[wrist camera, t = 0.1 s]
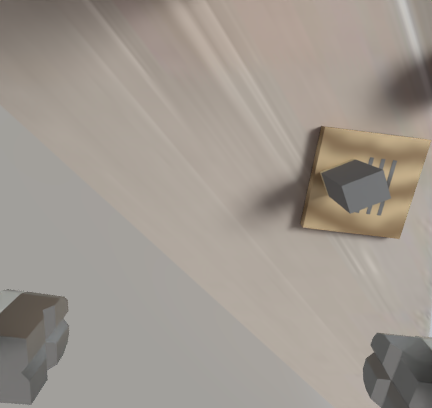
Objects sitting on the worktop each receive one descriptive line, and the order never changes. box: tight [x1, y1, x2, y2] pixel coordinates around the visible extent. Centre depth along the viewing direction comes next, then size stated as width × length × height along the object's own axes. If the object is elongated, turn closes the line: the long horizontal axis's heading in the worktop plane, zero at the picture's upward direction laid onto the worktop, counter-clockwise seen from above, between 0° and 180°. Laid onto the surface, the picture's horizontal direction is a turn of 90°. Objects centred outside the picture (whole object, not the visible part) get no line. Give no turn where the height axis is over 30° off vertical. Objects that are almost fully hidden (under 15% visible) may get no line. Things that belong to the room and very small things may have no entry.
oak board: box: [300, 126, 431, 239], centre depth 55 cm, size 18×18×2 cm
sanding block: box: [320, 159, 391, 214], centre depth 49 cm, size 6×4×10 cm
